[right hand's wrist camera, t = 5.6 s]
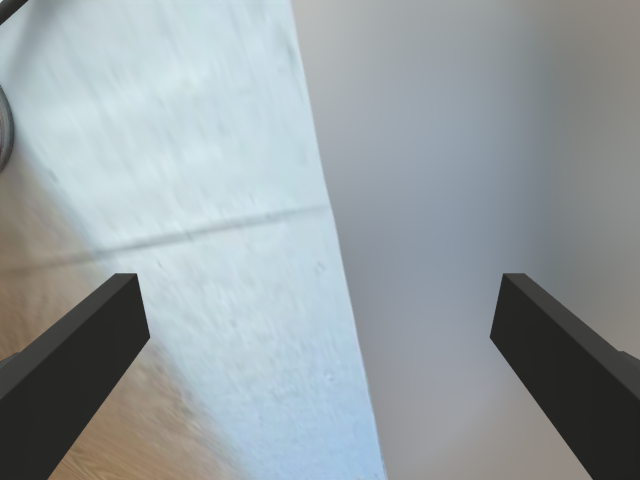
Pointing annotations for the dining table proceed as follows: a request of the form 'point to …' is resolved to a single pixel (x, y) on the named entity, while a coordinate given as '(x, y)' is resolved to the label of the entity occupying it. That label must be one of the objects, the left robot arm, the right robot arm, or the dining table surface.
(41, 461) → the right robot arm
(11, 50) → the dining table surface
